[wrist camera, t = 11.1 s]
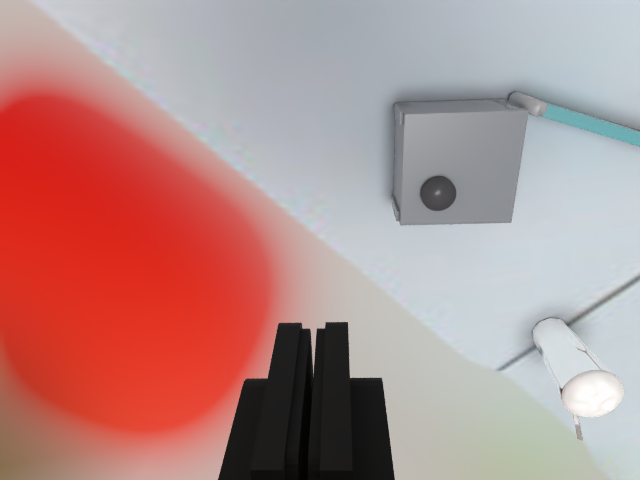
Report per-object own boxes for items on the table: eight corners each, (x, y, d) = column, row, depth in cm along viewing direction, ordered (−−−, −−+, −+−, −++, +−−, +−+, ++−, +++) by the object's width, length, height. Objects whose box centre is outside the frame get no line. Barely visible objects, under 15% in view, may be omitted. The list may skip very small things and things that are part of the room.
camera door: (506, 103, 34) (528, 114, 30) (512, 90, 33) (536, 99, 29) (668, 152, 35) (710, 169, 31) (675, 140, 35) (719, 155, 31)
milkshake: (510, 347, 44) (555, 431, 35) (542, 304, 42) (599, 382, 33) (550, 362, 45) (604, 448, 36) (584, 321, 42) (651, 402, 33)
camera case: (393, 102, 34) (403, 116, 29) (503, 98, 34) (532, 111, 29) (390, 201, 38) (398, 228, 33) (490, 198, 37) (513, 226, 32)
